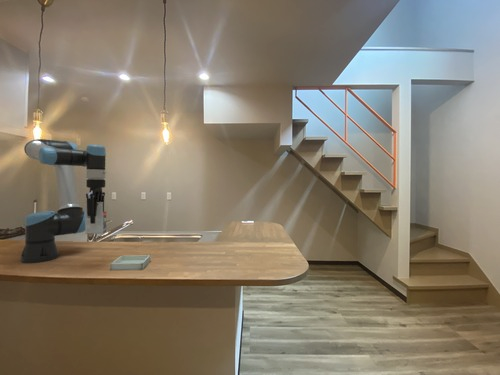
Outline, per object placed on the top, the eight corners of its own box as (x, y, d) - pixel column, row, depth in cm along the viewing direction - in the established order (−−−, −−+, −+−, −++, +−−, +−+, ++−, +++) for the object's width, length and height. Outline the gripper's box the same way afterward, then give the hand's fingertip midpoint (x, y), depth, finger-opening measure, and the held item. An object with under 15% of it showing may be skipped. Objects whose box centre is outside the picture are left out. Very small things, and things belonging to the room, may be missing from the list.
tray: (110, 270, 118) (110, 263, 118) (121, 261, 131) (121, 255, 131) (142, 269, 120) (142, 263, 120) (150, 260, 133) (150, 255, 133)
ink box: (88, 232, 124) (89, 201, 124) (106, 232, 125) (106, 201, 125) (84, 233, 120) (85, 201, 120) (103, 233, 121) (103, 202, 121)
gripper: (95, 179, 114) (95, 233, 115) (112, 179, 131) (111, 226, 131) (77, 178, 113) (77, 233, 114) (96, 178, 130) (96, 226, 131)
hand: (95, 229), depth 123 cm, fingers closed on ink box, 4 cm apart
